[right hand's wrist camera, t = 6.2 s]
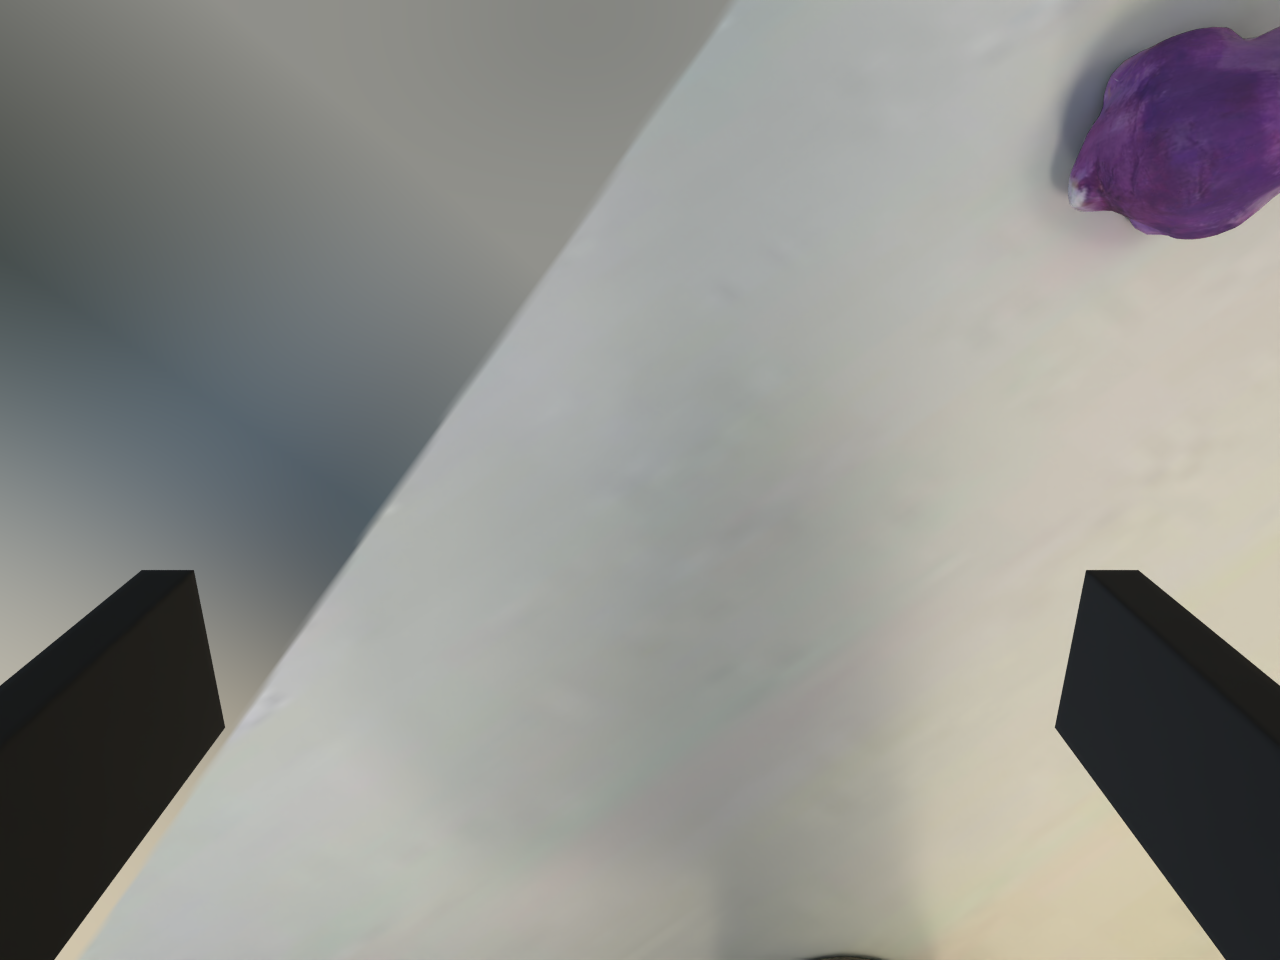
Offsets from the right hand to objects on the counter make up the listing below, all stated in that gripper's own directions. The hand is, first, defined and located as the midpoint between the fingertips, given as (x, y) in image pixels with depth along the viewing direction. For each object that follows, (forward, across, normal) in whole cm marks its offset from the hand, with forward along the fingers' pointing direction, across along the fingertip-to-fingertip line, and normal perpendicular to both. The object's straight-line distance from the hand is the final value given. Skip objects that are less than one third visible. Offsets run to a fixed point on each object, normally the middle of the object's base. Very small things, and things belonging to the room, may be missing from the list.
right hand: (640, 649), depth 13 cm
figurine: (+31, -24, -9) cm, 40 cm away
